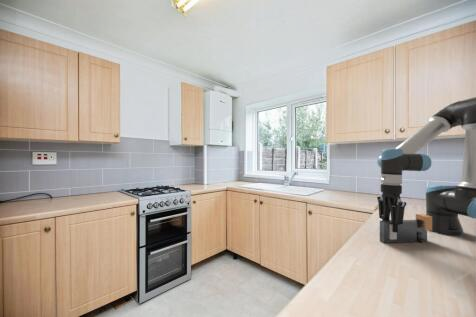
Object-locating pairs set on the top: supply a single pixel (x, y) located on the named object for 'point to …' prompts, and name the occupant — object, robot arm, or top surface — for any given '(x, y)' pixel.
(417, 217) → the orange slotted clip
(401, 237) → the tongs hinged arm
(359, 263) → the top surface
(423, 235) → the arm
